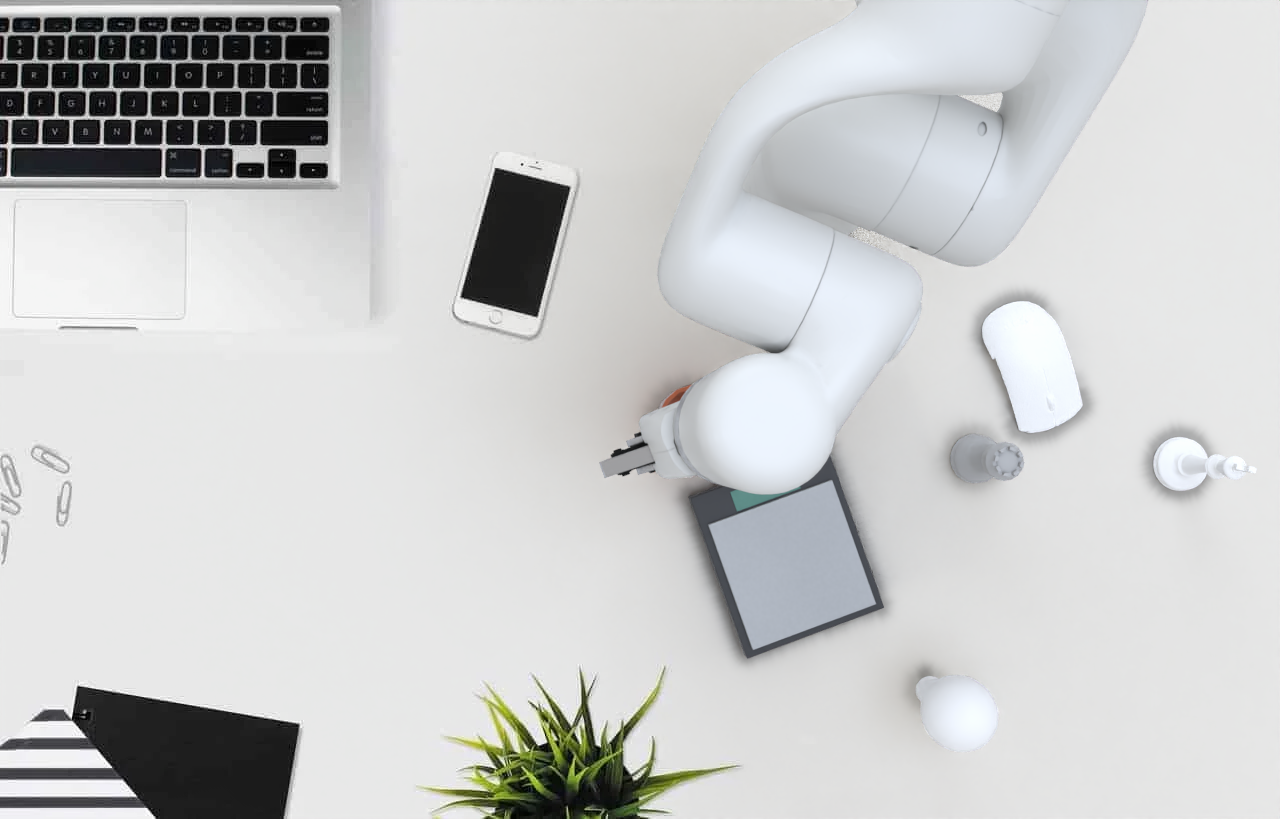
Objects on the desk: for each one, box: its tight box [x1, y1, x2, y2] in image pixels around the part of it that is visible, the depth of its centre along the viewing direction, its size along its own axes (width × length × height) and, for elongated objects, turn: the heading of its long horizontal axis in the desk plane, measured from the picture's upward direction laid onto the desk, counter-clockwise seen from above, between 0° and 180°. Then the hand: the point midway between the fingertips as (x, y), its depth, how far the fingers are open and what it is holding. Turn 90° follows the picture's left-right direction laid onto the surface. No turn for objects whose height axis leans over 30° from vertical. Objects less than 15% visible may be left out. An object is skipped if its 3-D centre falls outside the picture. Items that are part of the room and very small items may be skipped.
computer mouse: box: [981, 300, 1084, 434], centre depth 90 cm, size 7×12×2 cm, turn 23°
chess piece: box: [1152, 436, 1257, 492], centre depth 87 cm, size 5×5×10 cm
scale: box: [688, 454, 885, 659], centre depth 88 cm, size 15×13×2 cm
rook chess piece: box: [949, 433, 1026, 484], centre depth 87 cm, size 4×4×8 cm
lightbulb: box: [915, 674, 1000, 753], centre depth 85 cm, size 6×6×11 cm
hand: (700, 431), depth 80 cm, fingers open, 9 cm apart
